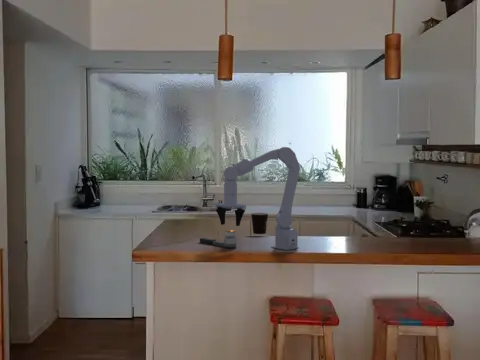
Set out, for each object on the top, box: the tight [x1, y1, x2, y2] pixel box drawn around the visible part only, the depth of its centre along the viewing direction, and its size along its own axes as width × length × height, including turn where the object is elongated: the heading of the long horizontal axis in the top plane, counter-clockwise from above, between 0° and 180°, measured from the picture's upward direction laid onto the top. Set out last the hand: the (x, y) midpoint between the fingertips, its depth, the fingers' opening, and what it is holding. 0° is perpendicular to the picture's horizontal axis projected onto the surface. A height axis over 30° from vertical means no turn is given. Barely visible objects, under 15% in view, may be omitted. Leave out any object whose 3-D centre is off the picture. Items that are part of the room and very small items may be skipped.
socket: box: [223, 229, 237, 245], centre depth 240 cm, size 5×5×6 cm
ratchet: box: [199, 237, 237, 250], centre depth 246 cm, size 22×5×4 cm, turn 45°
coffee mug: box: [250, 212, 269, 235], centre depth 283 cm, size 12×9×10 cm
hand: (230, 225), depth 240 cm, fingers open, 7 cm apart
